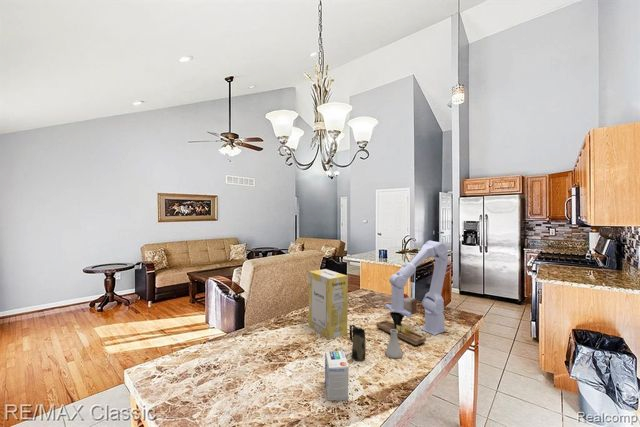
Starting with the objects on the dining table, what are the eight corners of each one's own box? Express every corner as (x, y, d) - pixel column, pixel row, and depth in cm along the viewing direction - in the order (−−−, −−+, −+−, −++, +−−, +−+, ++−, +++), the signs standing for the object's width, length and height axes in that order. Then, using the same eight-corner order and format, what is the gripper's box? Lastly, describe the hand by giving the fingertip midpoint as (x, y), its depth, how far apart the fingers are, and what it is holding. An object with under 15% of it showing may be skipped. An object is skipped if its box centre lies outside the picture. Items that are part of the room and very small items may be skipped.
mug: (368, 359, 117) (368, 329, 117) (357, 363, 114) (358, 332, 114) (355, 350, 124) (355, 322, 123) (345, 354, 120) (345, 325, 120)
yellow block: (402, 330, 140) (402, 322, 140) (410, 333, 136) (410, 326, 135) (396, 332, 137) (396, 324, 137) (404, 336, 133) (405, 328, 133)
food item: (390, 309, 175) (390, 292, 175) (397, 306, 180) (398, 290, 180) (411, 315, 165) (411, 297, 165) (418, 311, 170) (418, 295, 170)
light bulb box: (324, 381, 102) (324, 350, 102) (343, 380, 102) (343, 350, 102) (327, 401, 91) (327, 367, 91) (349, 400, 92) (349, 366, 92)
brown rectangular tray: (386, 325, 151) (386, 319, 151) (426, 343, 131) (426, 336, 131) (375, 328, 146) (375, 322, 146) (414, 347, 126) (414, 341, 126)
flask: (403, 360, 116) (403, 335, 116) (384, 358, 118) (385, 333, 117) (402, 351, 123) (402, 327, 123) (384, 349, 125) (384, 326, 125)
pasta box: (308, 325, 149) (308, 271, 149) (325, 321, 155) (325, 269, 155) (329, 339, 134) (329, 278, 134) (347, 333, 140) (347, 275, 140)
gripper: (380, 296, 143) (380, 324, 144) (403, 305, 131) (403, 335, 131) (390, 294, 147) (390, 321, 147) (414, 302, 135) (413, 331, 135)
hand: (397, 327), depth 140 cm, fingers closed
